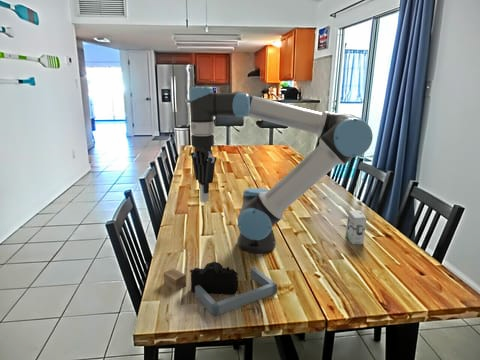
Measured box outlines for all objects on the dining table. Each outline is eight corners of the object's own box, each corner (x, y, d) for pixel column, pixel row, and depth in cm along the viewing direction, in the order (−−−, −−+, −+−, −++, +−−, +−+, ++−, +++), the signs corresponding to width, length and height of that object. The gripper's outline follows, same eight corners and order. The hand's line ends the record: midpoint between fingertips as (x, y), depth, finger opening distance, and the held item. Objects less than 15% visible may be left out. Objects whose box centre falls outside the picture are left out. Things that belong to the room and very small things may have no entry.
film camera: (239, 279, 117) (239, 255, 114) (237, 296, 107) (237, 270, 105) (193, 277, 118) (193, 252, 115) (187, 294, 108) (187, 267, 106)
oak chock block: (174, 279, 116) (173, 268, 115) (185, 285, 113) (185, 274, 112) (164, 284, 113) (163, 272, 112) (176, 291, 110) (175, 279, 109)
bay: (254, 275, 119) (254, 267, 118) (276, 292, 110) (277, 284, 109) (195, 294, 108) (195, 286, 107) (214, 316, 98) (214, 307, 97)
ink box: (345, 235, 152) (347, 209, 149) (356, 235, 152) (359, 209, 149) (351, 244, 144) (354, 217, 140) (363, 244, 144) (367, 217, 141)
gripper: (183, 133, 121) (185, 198, 127) (203, 137, 111) (205, 208, 118) (201, 131, 126) (203, 194, 132) (222, 135, 116) (223, 203, 122)
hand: (204, 201), depth 125 cm, fingers closed
